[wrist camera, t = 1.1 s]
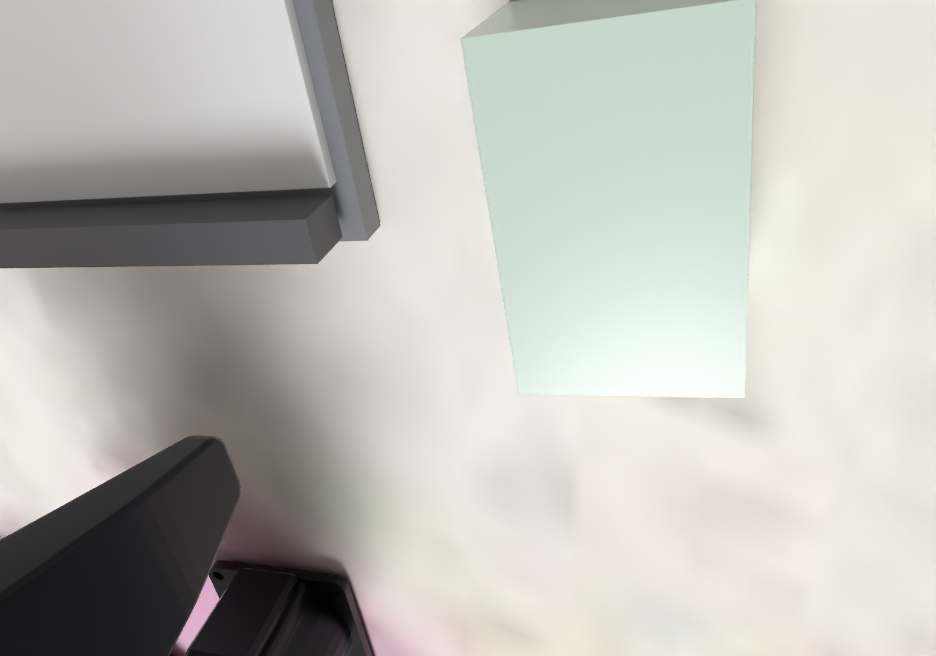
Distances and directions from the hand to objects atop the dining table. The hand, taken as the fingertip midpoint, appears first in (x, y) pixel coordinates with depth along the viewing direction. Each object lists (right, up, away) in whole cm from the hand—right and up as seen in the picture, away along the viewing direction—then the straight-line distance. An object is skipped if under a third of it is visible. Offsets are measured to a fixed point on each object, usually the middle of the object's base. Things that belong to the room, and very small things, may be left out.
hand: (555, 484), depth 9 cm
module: (+3, +6, +9) cm, 12 cm away
